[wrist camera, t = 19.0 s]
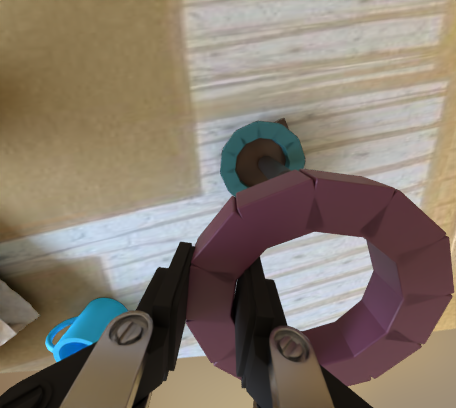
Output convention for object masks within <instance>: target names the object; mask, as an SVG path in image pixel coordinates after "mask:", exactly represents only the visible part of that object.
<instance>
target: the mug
mask: <svg viewBox="0 0 456 408" xmlns="http://www.w3.org/2000/svg"><path fill="white" fill-rule="evenodd" d="M125 312H128V311H127V309H126V308H125V307H124V306H123V305H122V304H121V303H119V302H118V301H116V300H113V299H111V298H97V299H95V300H93V301H91V302H90V303H89V304H88V305H87V306H86V308H85V309H84V310H83V311H82V313H81V314H80V315H79V316H77V317H73V318H70V319H68V320H65V321H63V322H62V323H60V324H58V325H57V326H55V327H54V328H53V329H52V330H51V331H50V333H49V334H48V336H47V337H46V343H45V345H46V347H47V349H48V350H49V351H51V352H52V353H53V355H54V358H55V360H56V362H59V361H60V360H62V359H64V358H66V357H68V356H70V355H72V354H74V353H76V352H78V351H80V350H81V349H83V348H85V347H87V346H89V345H91V344H93V343H95V342H97V341H98V340H99V338H100V337H101V335H102V333H103V331H104V330H105V328H106V327H107V325H108V324H109V323H110V321H111V320H113V319H114V318H115V317H116V316H118V315H120V314H122V313H125ZM71 324H72V325H71ZM69 325H71V326H70V328H69V329H68V330H67V331H66V333H65V334H64V335H63V336H62V338H61V339H60V340H59V341H58V343H57V344H56V345H53V343H52V341H53V338H54V336H55V335H56V334H57V333H58V332H59V331H60V330H62V329H63V328H65V327H66V326H69Z"/></svg>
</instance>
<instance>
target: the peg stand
mask: <svg viewBox="0 0 456 408" xmlns="http://www.w3.org/2000/svg"><path fill="white" fill-rule="evenodd" d="M274 123H280V124H282V125H283V126H285V127H286V128H287V129H288V126H287V124H286V121H285V118H282V119H280V120H278V121H276V122H274ZM288 130H289V129H288ZM285 163H286V158H285V156H284V153H283V150H282V147H281V146H279V145H278V144H277V143H276V142H274V141H273V140H272V139H264V138H258V139H256V140H254V141H252V142H249V143H247V144H245V146H244V147H243V149H242V150H241V151H240V153H239V154H238V155H237V160H236V168H235V169H236V172H237V174H238V176H239V179H240V180H241V181H242V182H244V183H245V184H246V185H248V186H249V187H252V186H255V185H257V184H260V183H262V182H265V181H267V180H270V179H272V178H275V177H277V176H280V175H282V174H285V173H287V172H290V171H291V170H290V169H288V168H287V167H285Z"/></svg>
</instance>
